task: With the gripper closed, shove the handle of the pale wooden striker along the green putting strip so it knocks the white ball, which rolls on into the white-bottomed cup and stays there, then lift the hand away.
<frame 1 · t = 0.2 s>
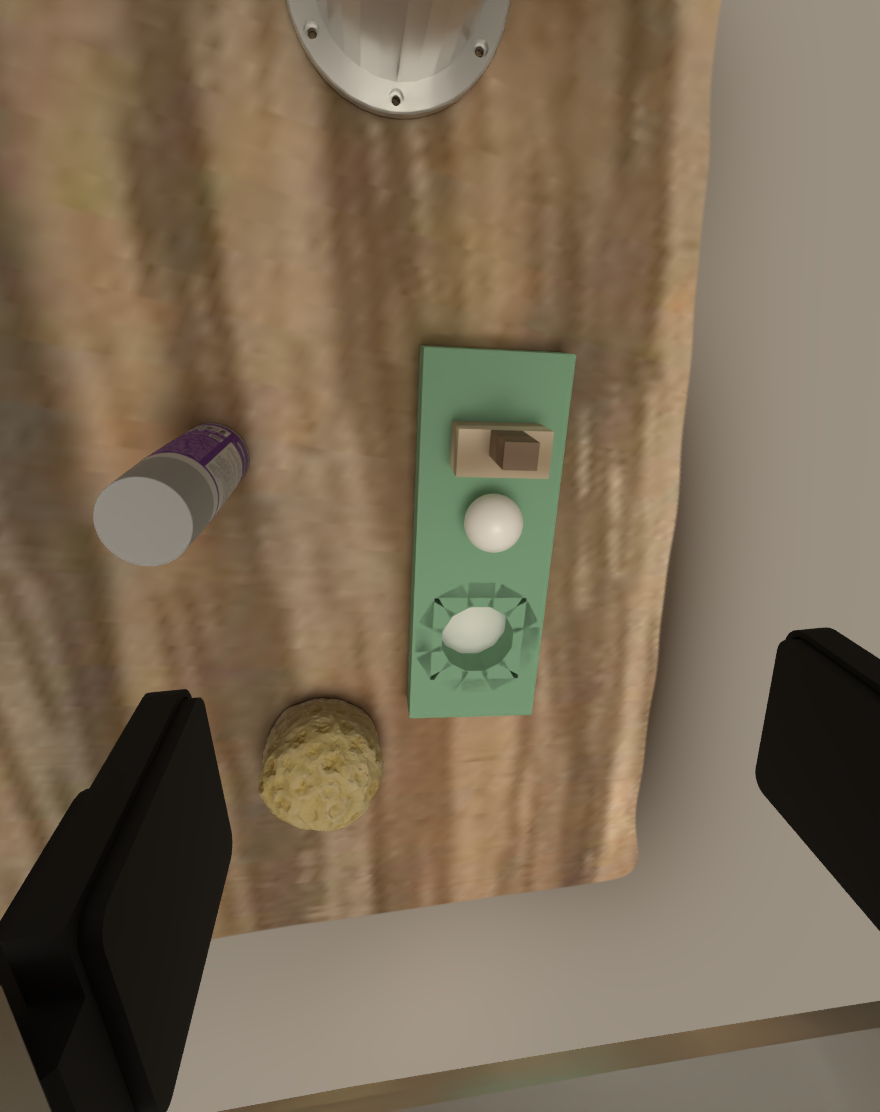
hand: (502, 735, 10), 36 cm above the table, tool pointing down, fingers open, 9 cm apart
striker: (506, 455, 38), point 7 cm above the table, slide at 0.0 cm
container: (215, 455, 43), on the table
golf ball: (493, 523, 41), point 5 cm above the table, touching putting green
rock: (323, 736, 52), on the table
putting green: (477, 540, 47), on the table
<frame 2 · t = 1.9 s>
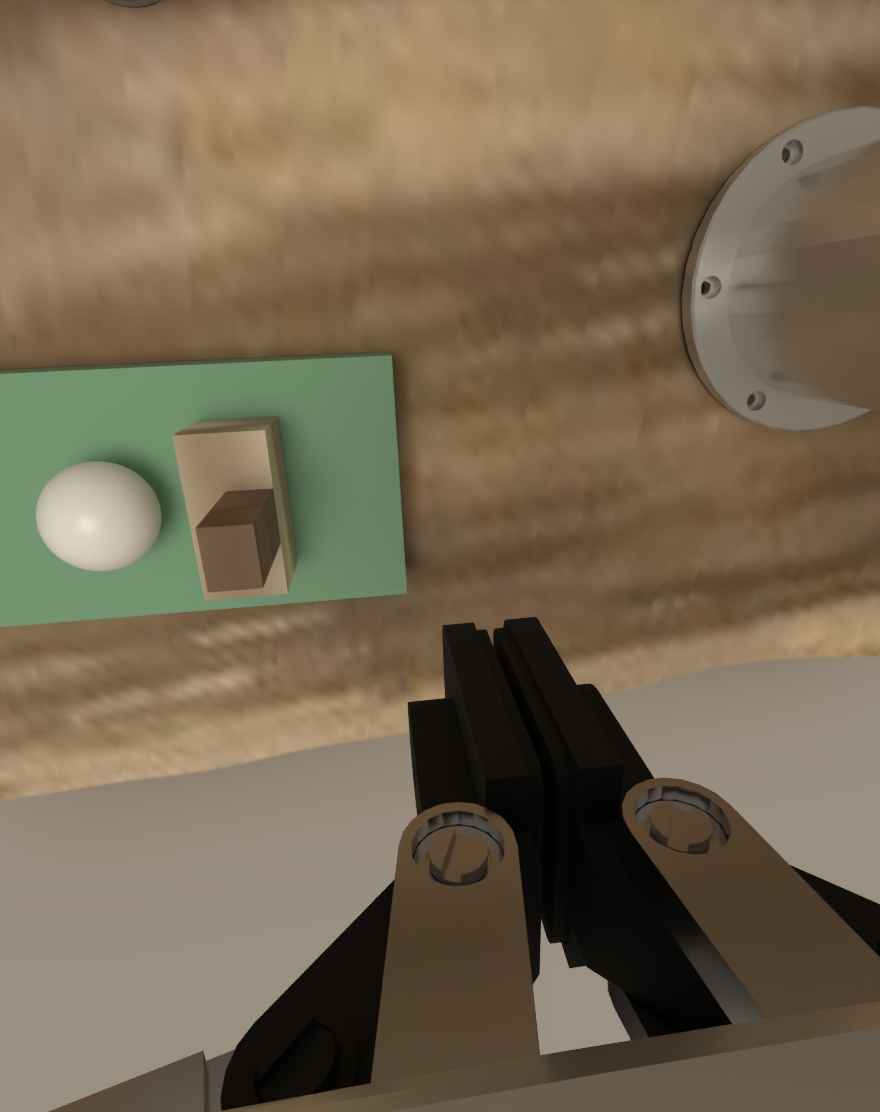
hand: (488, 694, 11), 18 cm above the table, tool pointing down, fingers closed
striker: (230, 522, 21), point 7 cm above the table, slide at 0.0 cm
golf ball: (101, 516, 22), point 5 cm above the table, touching putting green
putting green: (75, 487, 27), on the table
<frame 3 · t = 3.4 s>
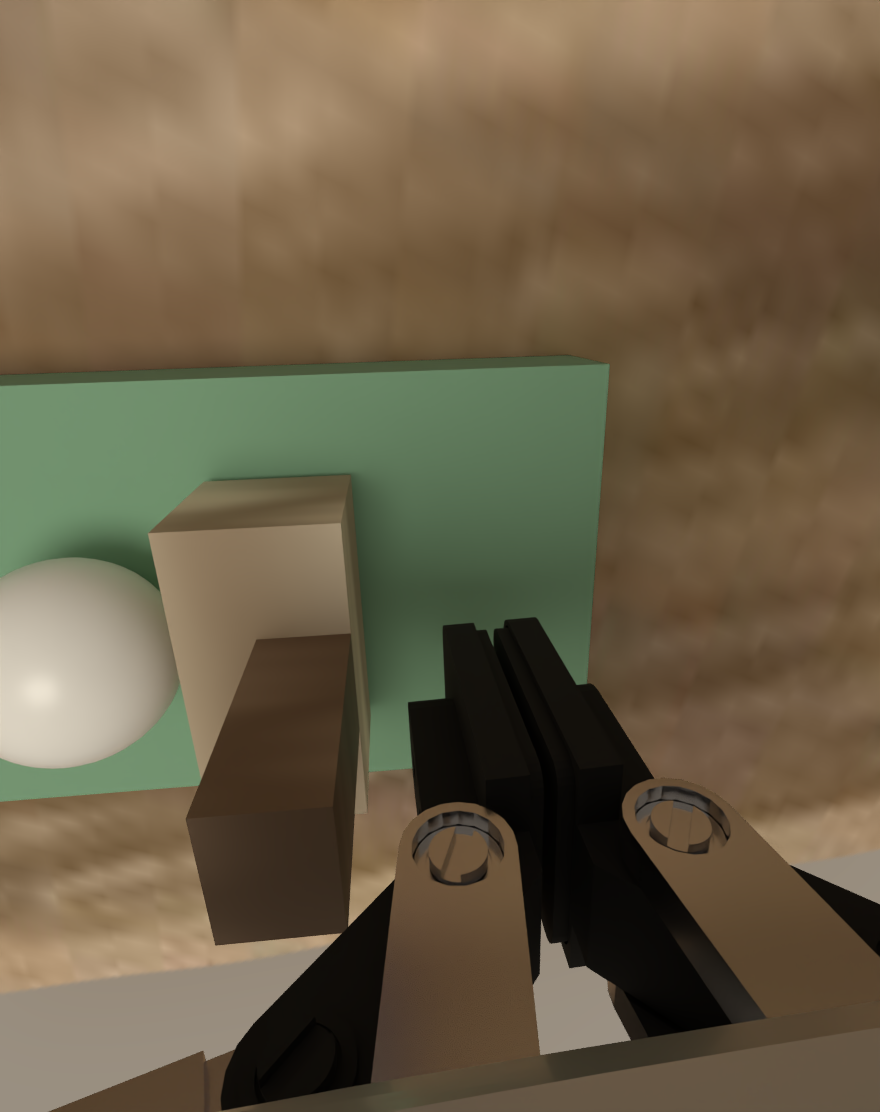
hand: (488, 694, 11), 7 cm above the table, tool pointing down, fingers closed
striker: (265, 702, 10), point 7 cm above the table, slide at 1.0 cm, touching gripper
golf ball: (73, 659, 12), point 5 cm above the table, touching putting green
putting green: (45, 569, 16), on the table
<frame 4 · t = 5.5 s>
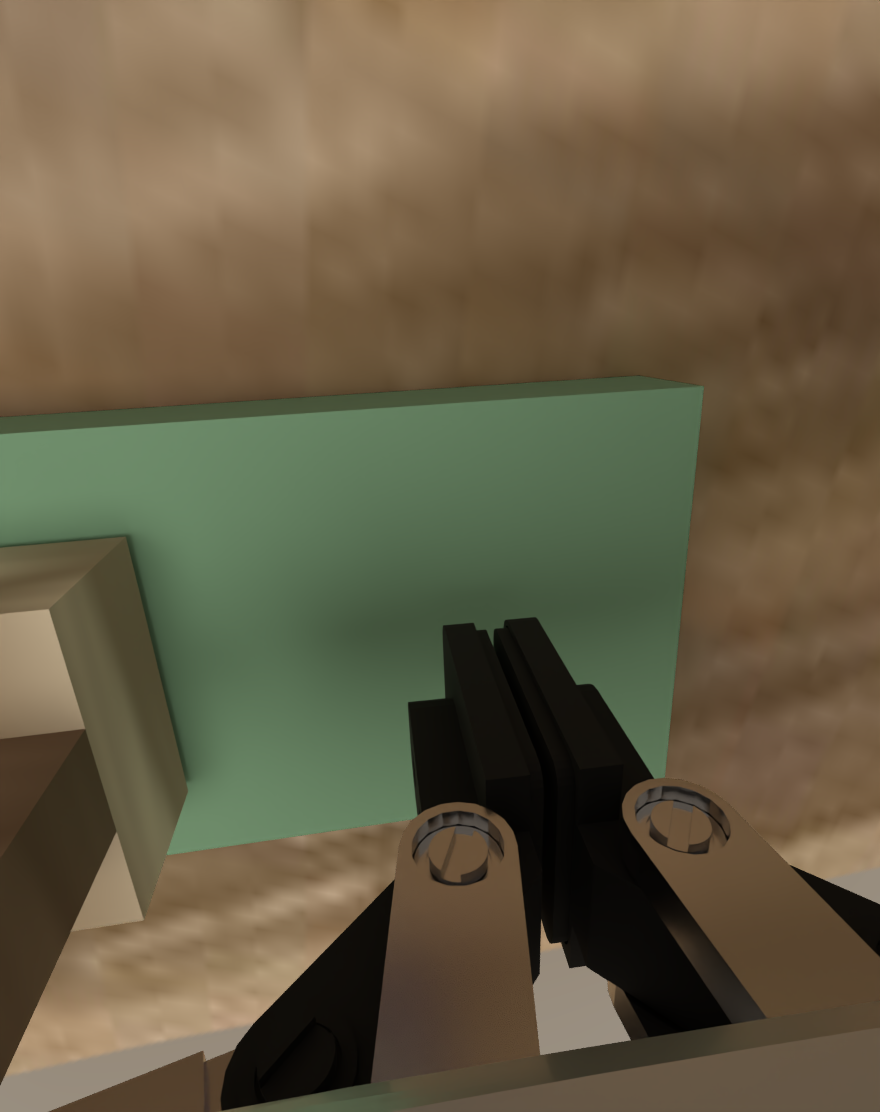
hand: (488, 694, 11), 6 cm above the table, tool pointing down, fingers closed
putting green: (93, 617, 15), on the table
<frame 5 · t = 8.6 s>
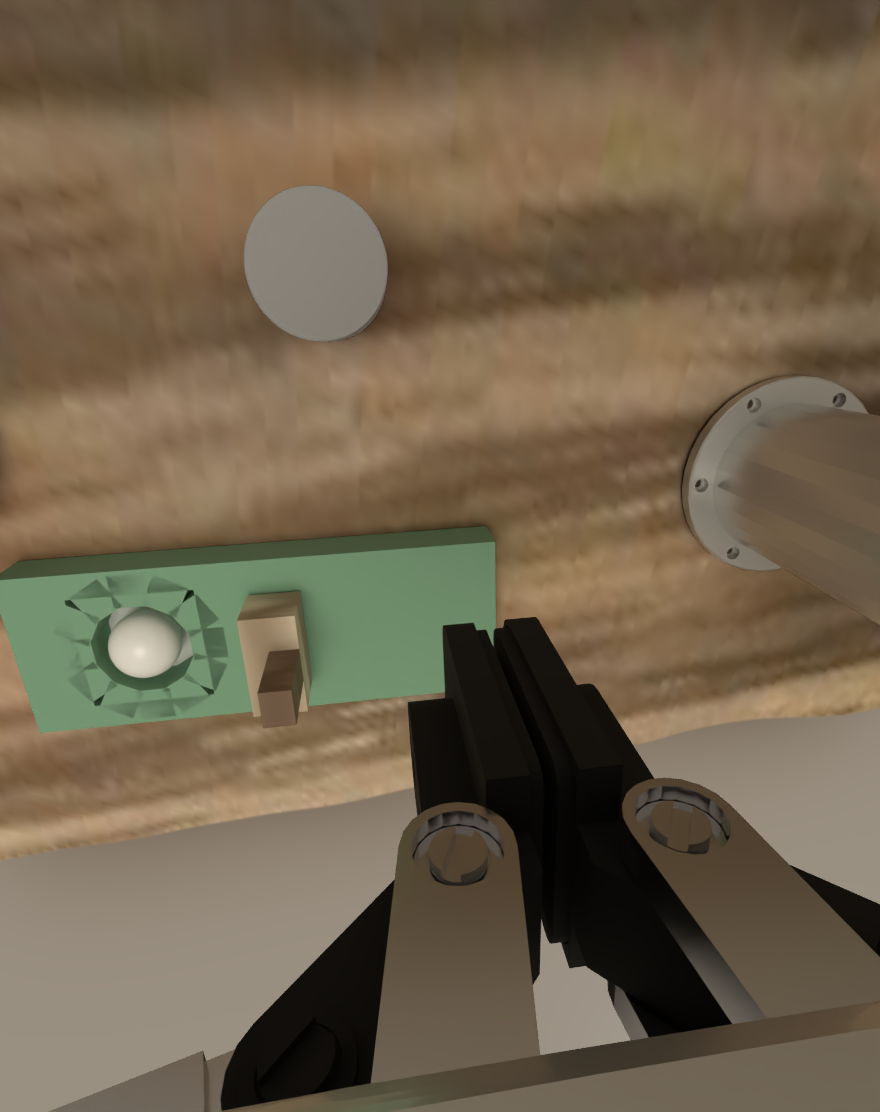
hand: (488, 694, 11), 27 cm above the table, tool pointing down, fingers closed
striker: (272, 671, 33), point 7 cm above the table, slide at 7.0 cm
container: (336, 290, 33), on the table
golf ball: (146, 643, 36), point 2 cm above the table, tilted 54°, touching putting green
putting green: (271, 616, 39), on the table
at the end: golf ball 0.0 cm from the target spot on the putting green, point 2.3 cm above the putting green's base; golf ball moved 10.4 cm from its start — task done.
